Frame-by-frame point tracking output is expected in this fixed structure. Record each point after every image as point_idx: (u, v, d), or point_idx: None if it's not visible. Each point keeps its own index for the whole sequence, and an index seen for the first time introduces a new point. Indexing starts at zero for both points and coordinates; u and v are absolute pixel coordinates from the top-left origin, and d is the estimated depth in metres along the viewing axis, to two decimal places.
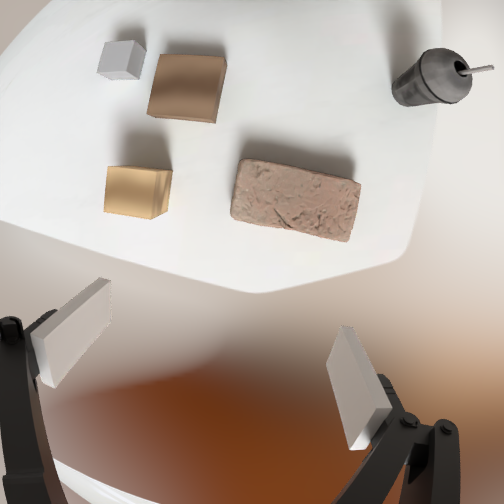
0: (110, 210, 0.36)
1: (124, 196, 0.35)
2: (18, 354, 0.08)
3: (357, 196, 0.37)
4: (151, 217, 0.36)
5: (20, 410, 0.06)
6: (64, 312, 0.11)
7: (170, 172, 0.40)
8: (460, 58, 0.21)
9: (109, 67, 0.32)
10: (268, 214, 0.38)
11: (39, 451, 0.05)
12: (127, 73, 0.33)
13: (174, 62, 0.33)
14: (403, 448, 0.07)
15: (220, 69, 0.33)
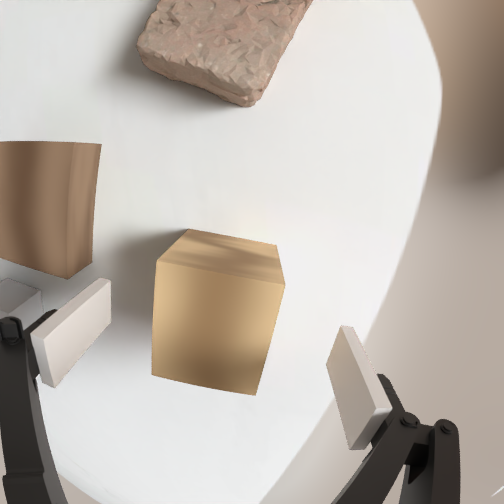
0: (252, 382, 0.15)
1: (218, 346, 0.15)
2: (18, 354, 0.08)
3: None
4: (279, 282, 0.14)
5: (20, 410, 0.06)
6: (64, 312, 0.11)
7: (189, 232, 0.19)
8: None
9: None
10: (268, 17, 0.13)
11: (39, 451, 0.05)
12: (18, 310, 0.18)
13: None
14: (403, 448, 0.07)
15: (5, 143, 0.15)
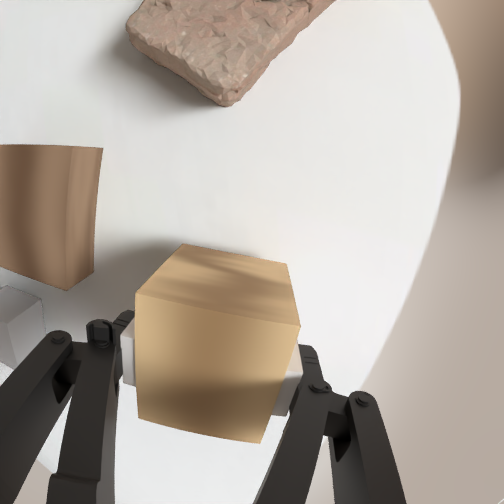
0: (256, 431, 0.12)
1: (216, 394, 0.11)
2: (105, 358, 0.09)
3: None
4: (293, 322, 0.10)
5: (92, 414, 0.07)
6: None
7: (182, 249, 0.16)
8: None
9: (9, 351, 0.17)
10: (262, 15, 0.12)
11: (101, 459, 0.06)
12: (17, 320, 0.18)
13: None
14: (319, 414, 0.09)
15: (2, 146, 0.14)
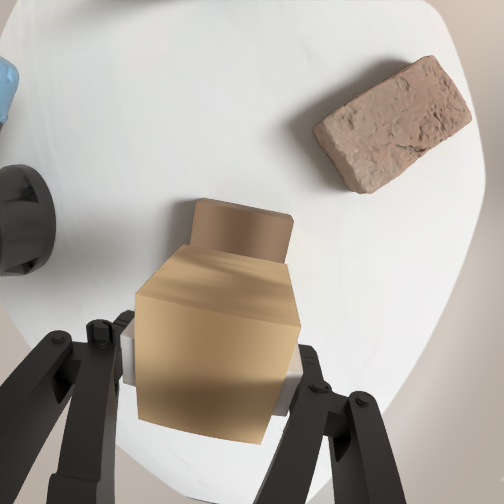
0: (257, 432, 0.12)
1: (216, 395, 0.11)
2: (105, 358, 0.09)
3: (441, 68, 0.21)
4: (294, 323, 0.10)
5: (92, 415, 0.07)
6: None
7: (182, 250, 0.16)
8: None
9: None
10: (396, 156, 0.24)
11: (101, 459, 0.06)
12: None
13: None
14: (319, 414, 0.09)
15: (215, 206, 0.27)
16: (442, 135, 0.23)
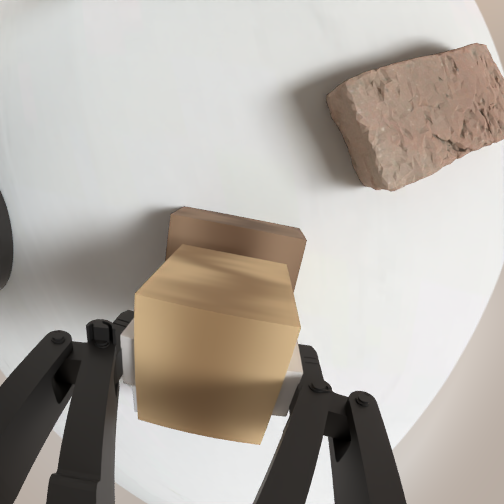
0: (256, 432, 0.12)
1: (215, 395, 0.11)
2: (105, 358, 0.09)
3: (493, 62, 0.14)
4: (293, 323, 0.10)
5: (92, 415, 0.07)
6: None
7: (181, 250, 0.16)
8: None
9: None
10: (432, 149, 0.17)
11: (101, 459, 0.06)
12: None
13: None
14: (319, 414, 0.09)
15: (198, 220, 0.19)
16: (487, 138, 0.16)
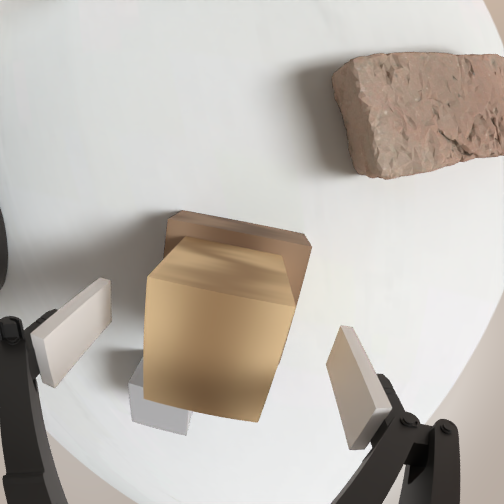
0: (255, 409, 0.13)
1: (218, 372, 0.13)
2: (18, 354, 0.08)
3: None
4: (289, 304, 0.12)
5: (20, 410, 0.06)
6: (64, 312, 0.11)
7: (185, 241, 0.17)
8: None
9: (179, 419, 0.21)
10: (435, 145, 0.16)
11: (39, 451, 0.05)
12: None
13: None
14: (403, 448, 0.07)
15: (196, 226, 0.18)
16: (495, 148, 0.15)
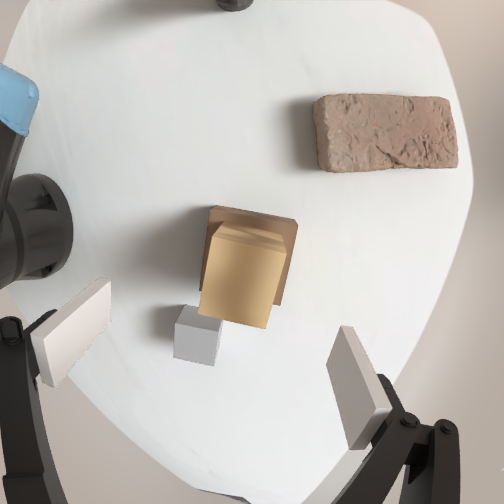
0: (264, 318, 0.25)
1: (244, 292, 0.25)
2: (18, 354, 0.08)
3: (450, 113, 0.25)
4: (283, 252, 0.24)
5: (20, 410, 0.06)
6: (64, 312, 0.11)
7: (224, 223, 0.29)
8: None
9: (209, 351, 0.33)
10: (371, 155, 0.28)
11: (39, 451, 0.05)
12: (219, 328, 0.34)
13: None
14: (403, 448, 0.07)
15: (228, 213, 0.30)
16: (422, 162, 0.27)
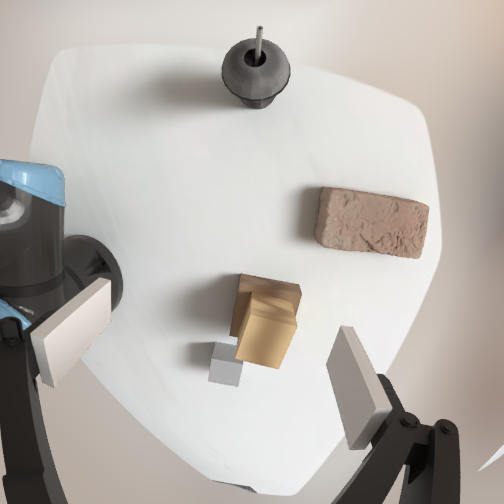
0: (278, 363, 0.37)
1: (267, 347, 0.37)
2: (18, 354, 0.08)
3: (426, 217, 0.38)
4: (295, 325, 0.36)
5: (20, 410, 0.06)
6: (64, 312, 0.11)
7: (253, 294, 0.41)
8: (239, 55, 0.23)
9: (235, 377, 0.45)
10: (354, 240, 0.40)
11: (39, 451, 0.05)
12: None
13: (240, 324, 0.44)
14: (403, 448, 0.07)
15: (252, 285, 0.42)
16: (391, 251, 0.40)
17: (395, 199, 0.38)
